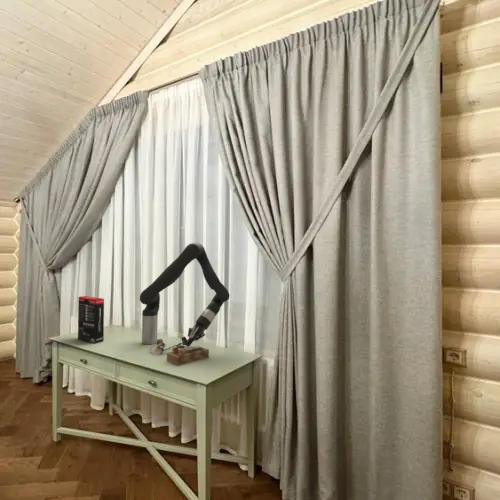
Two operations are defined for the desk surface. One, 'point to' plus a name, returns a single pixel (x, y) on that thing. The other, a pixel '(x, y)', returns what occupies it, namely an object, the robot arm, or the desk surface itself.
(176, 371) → the desk surface
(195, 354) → the lever base
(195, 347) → the lever
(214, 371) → the desk surface
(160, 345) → the artificial flower
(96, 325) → the graphics card box
